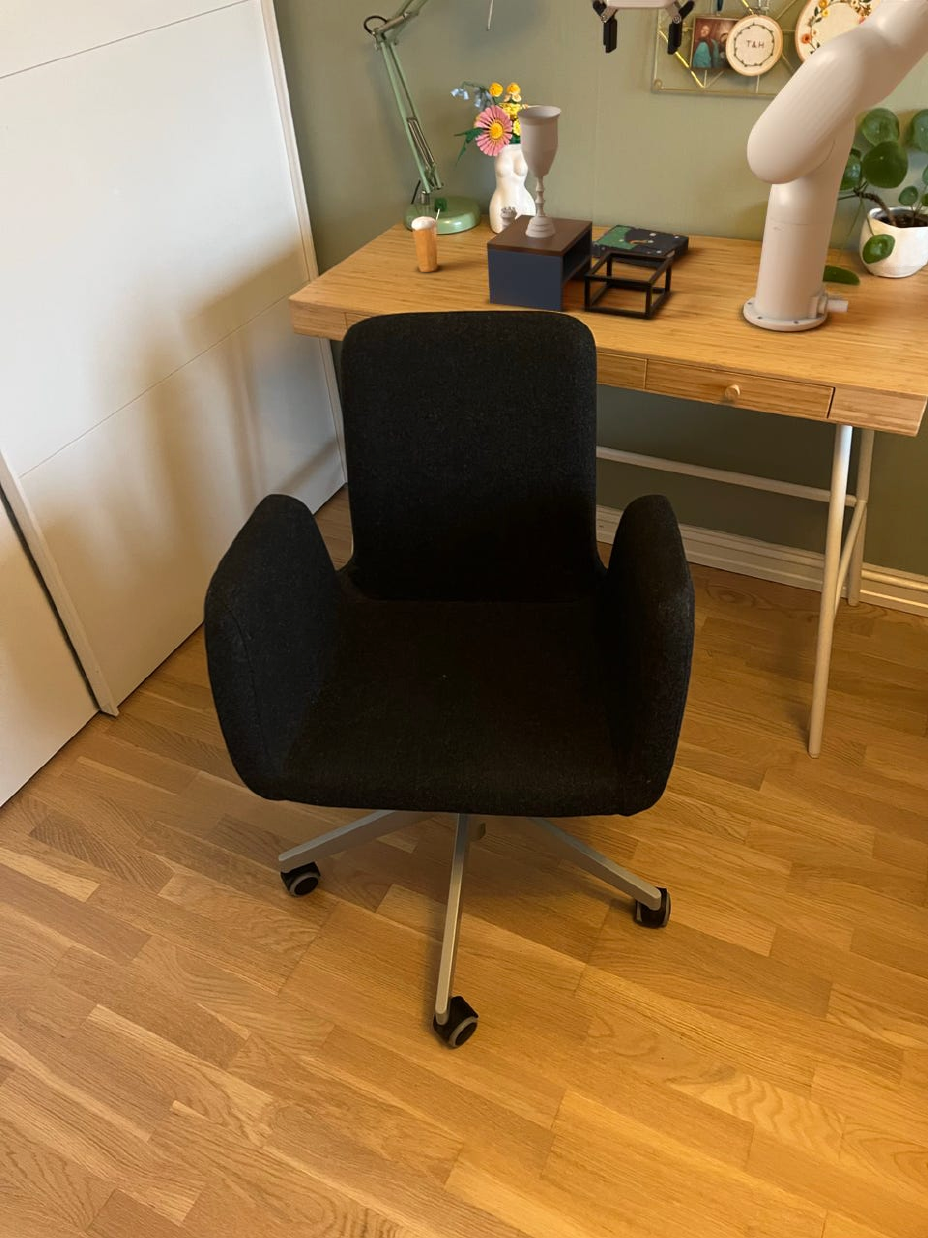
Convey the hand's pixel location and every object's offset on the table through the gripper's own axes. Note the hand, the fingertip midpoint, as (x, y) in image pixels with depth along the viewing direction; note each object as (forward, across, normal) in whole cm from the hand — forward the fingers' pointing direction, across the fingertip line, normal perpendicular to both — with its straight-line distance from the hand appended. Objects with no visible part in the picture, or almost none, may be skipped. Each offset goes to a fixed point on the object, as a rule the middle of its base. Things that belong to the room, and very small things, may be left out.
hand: (641, 51), depth 145 cm
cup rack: (+34, +3, -10) cm, 36 cm away
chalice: (+24, -12, -10) cm, 29 cm away
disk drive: (+34, -2, +10) cm, 36 cm away
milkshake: (+34, -36, -7) cm, 50 cm away
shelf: (+34, -12, -10) cm, 38 cm away
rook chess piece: (+34, -25, +4) cm, 43 cm away
